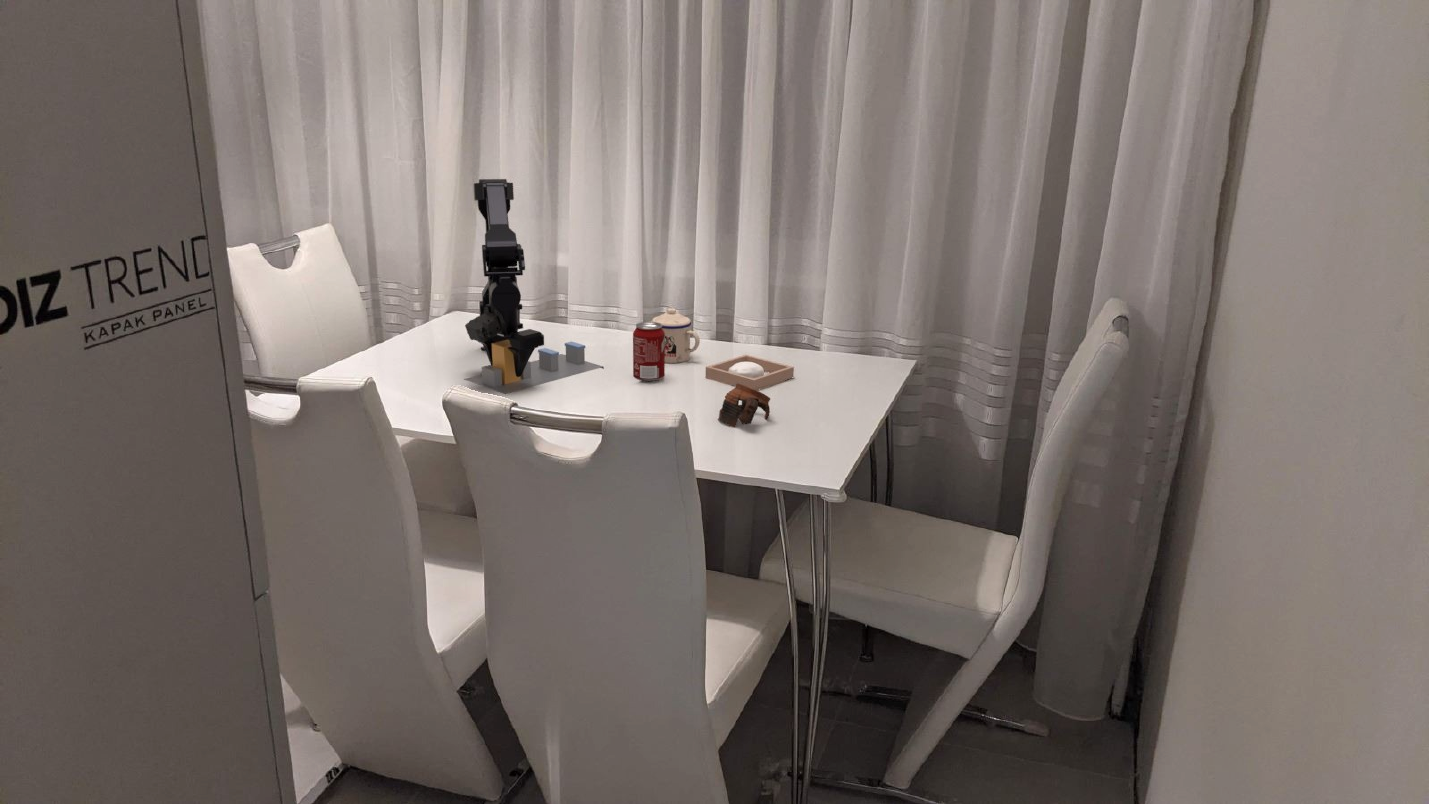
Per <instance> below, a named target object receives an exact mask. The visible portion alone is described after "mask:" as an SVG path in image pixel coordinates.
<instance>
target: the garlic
mask: <svg viewBox="0 0 1429 804" xmlns="http://www.w3.org/2000/svg"><path fill="white" fill-rule="evenodd" d="M728 372H731V373H735V374H739V375H742V376H746V377H749V378H753V379H754V378H757V377H760V376H763V375H765V372H764V369H763V368H762V367H761V366H760V365H758V364H756V363H753V362H739V363H736V364H735V365H733V366H732V367H730V368H729V371H728Z"/></svg>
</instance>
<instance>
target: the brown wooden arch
mask: <svg viewBox="0 0 1429 804" xmlns="http://www.w3.org/2000/svg"><path fill="white" fill-rule="evenodd" d="M724 398H725V399H724V400H723V402H722V405H721V408H720V410H719V413H718V421H720V422H722V423H723V424H725V425H728V426H730V427H733V428H736V427H737V423H738V421H739V423H741V424H742V425H743V426H744V425H750V424H752V421H753V419H754V416H755V415H756V413H757V410H758V408H760V409H761V410H762V411H763V412H764V413H765V415H764V420H765V419H766V420H768V419H769V416H770V413H771V411H770V405H769V404H770V403H769V402H770V401H771V397H769V396H767V395H766V394H765V393H763V392H761V391H760V390H755V389H753V388H750V387H748V386H745V385H742V384H736V386H734V387H733V388H732V389H730V390H729V391H728V392H727V393H726V395H724ZM739 401H741V404H739Z"/></svg>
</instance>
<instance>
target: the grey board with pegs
mask: <svg viewBox="0 0 1429 804" xmlns="http://www.w3.org/2000/svg"><path fill="white" fill-rule="evenodd" d="M564 346H565V354H564V353H560V352H559V351H556V350H553V349H549V348H546V347H543V348H540V349H537V353H538V359H537V360H533V361H530V360H528V362H527V364H526V367H525V369H524V371H523V373H522V375H521V376H520V377H521V380H520V381H516V382H512V383H508V384H503V383H502V369H500V368H497V367H494V366H491V364H488V365H484V366H481V374H477V375H474V376H471V377H466V378H464V379H463V380H464V381H468V382H470V383H473V384H476V385H479V386H481V387H485V388H487V389H490V390H493V391H496V392H498V393H501V394H504V395H507V394H510V393H515V392H518V391H522V390H525V389H528V388H533V387H536V386H540V385H543V384H546V383H550V382H554V381H557V380H561V379H565V378H569V377H572V376H575V375H579V374H582V373H586V372H590V371H594V370H597V369H603V370H604V369H605V368H604V367H605V366H602V365H600V364H596V363H593V362H590V361H586V360H585V358H586V357H585V355H586V354H585V349H586V345H584V344H581V343H578V342H574V341H572V340H571V341H568V342H564Z"/></svg>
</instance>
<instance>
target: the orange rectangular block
mask: <svg viewBox="0 0 1429 804" xmlns="http://www.w3.org/2000/svg"><path fill="white" fill-rule="evenodd" d="M508 347H512V346H511V344H510V341H509V340H504V341H500V342H496V343H492V361H493V366H494V367H497V368H500V369H502V383H503V384H508V383H512V382H516V381H520V380H521V377H516V373H515V366H514V358H513V353H512V352H511V351H510V350H509V349H508Z"/></svg>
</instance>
